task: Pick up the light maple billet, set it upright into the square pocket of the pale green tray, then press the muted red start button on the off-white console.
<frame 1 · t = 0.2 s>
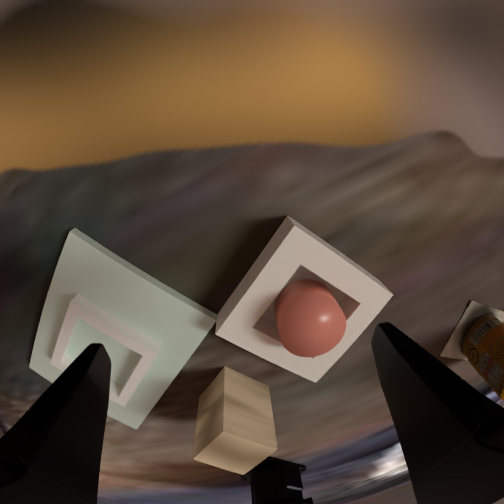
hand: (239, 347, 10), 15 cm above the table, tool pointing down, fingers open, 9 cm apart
button housing: (300, 297, 26), on the table
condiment: (474, 332, 30), on the table
tray: (106, 344, 27), on the table
billet: (233, 392, 29), on the table
start button: (308, 318, 23), point 3 cm above the table, slide at 0.0 cm
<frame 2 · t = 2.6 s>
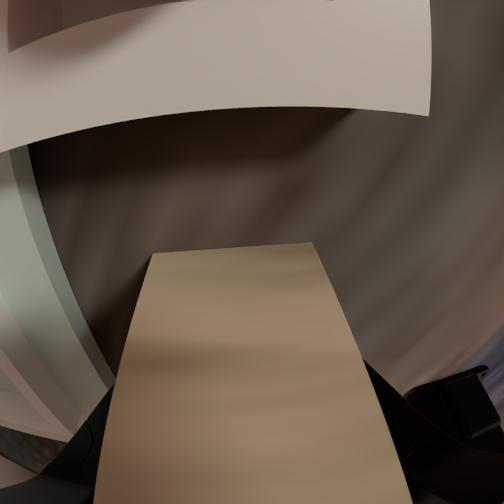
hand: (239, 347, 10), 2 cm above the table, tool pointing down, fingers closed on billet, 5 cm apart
billet: (237, 308, 11), on the table, touching gripper
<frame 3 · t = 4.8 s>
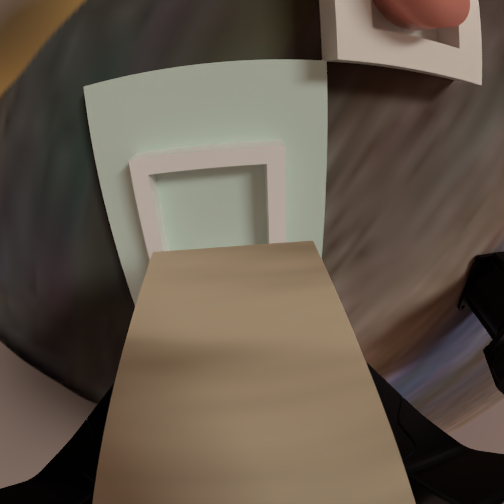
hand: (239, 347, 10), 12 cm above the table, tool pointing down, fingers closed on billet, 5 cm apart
tray: (214, 205, 20), on the table
billet: (237, 307, 11), point 11 cm above the table, touching gripper
when the fingers open (4 cm above the table, at t = 7.2 s): billet drops 1 cm, resting on tray.
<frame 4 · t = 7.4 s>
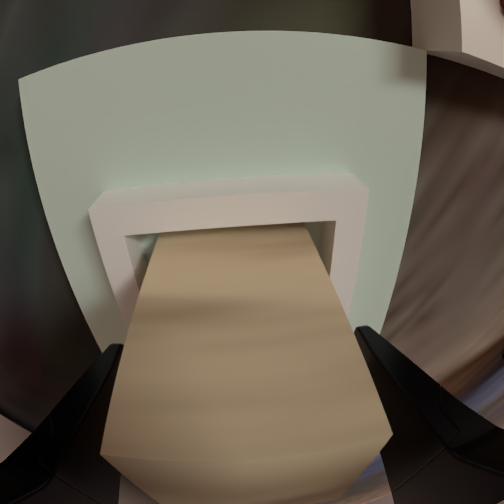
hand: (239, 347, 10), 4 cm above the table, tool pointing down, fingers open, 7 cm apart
tray: (233, 269, 13), on the table
billet: (235, 282, 12), point 1 cm above the table, touching tray
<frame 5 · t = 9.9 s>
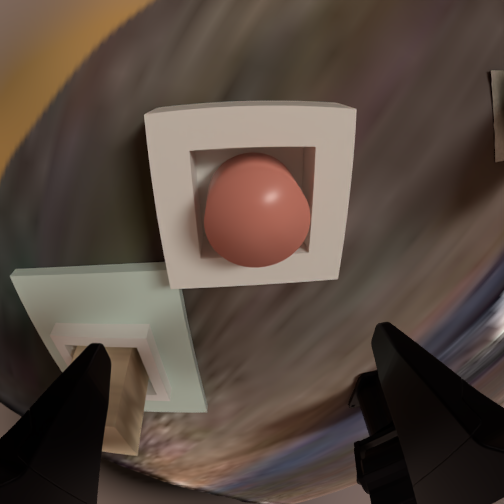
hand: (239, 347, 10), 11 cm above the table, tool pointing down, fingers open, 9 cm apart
button housing: (250, 185, 18), on the table
tray: (117, 350, 25), on the table
billet: (115, 358, 24), point 1 cm above the table, touching tray
start button: (254, 207, 16), point 3 cm above the table, slide at 0.0 cm
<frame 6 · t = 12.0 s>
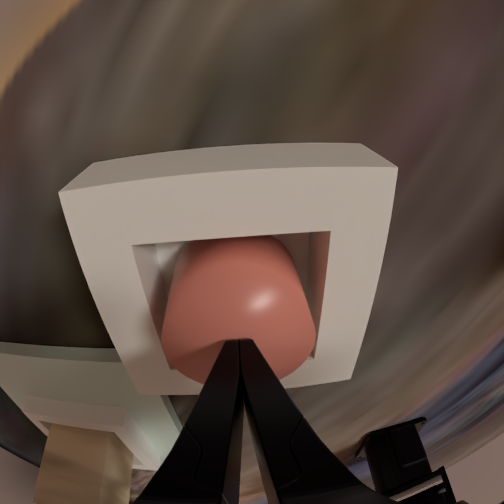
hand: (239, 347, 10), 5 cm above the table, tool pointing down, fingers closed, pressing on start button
button housing: (234, 264, 13), on the table
tray: (97, 420, 20), on the table
billet: (95, 430, 19), point 1 cm above the table, touching tray
start button: (236, 310, 11), point 3 cm above the table, slide at 0.5 cm, touching gripper
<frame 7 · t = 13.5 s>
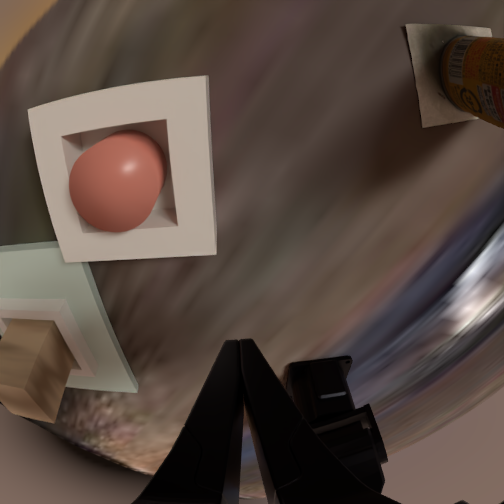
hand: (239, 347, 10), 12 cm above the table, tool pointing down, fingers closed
button housing: (132, 164, 18), on the table
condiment: (457, 72, 16), on the table
tray: (49, 326, 25), on the table
billet: (45, 333, 24), point 1 cm above the table, touching tray
start button: (119, 178, 16), point 3 cm above the table, slide at 0.7 cm
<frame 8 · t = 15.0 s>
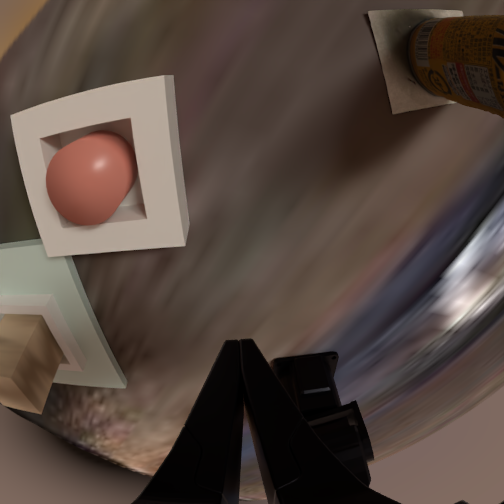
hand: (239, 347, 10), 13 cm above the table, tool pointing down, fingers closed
button housing: (107, 162, 19), on the table
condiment: (428, 57, 16), on the table
tray: (40, 322, 26), on the table
billet: (36, 328, 25), point 1 cm above the table, touching tray
start button: (92, 175, 16), point 3 cm above the table, slide at 0.7 cm
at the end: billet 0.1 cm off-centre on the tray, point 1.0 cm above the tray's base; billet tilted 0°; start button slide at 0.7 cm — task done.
